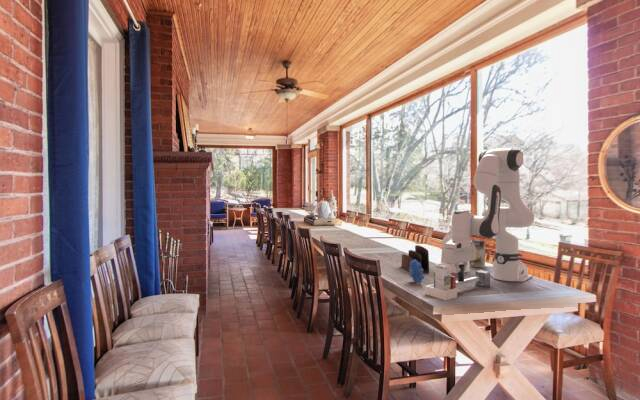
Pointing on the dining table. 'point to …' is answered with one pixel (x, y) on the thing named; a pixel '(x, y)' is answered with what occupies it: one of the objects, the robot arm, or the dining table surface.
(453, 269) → the milk
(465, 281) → the linear slider rail
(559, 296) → the dining table surface
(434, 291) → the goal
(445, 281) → the syrup box
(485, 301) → the dining table surface
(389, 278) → the dining table surface
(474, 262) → the coffee box
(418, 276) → the grapes
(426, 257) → the letter holder
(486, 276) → the grey hollow block
